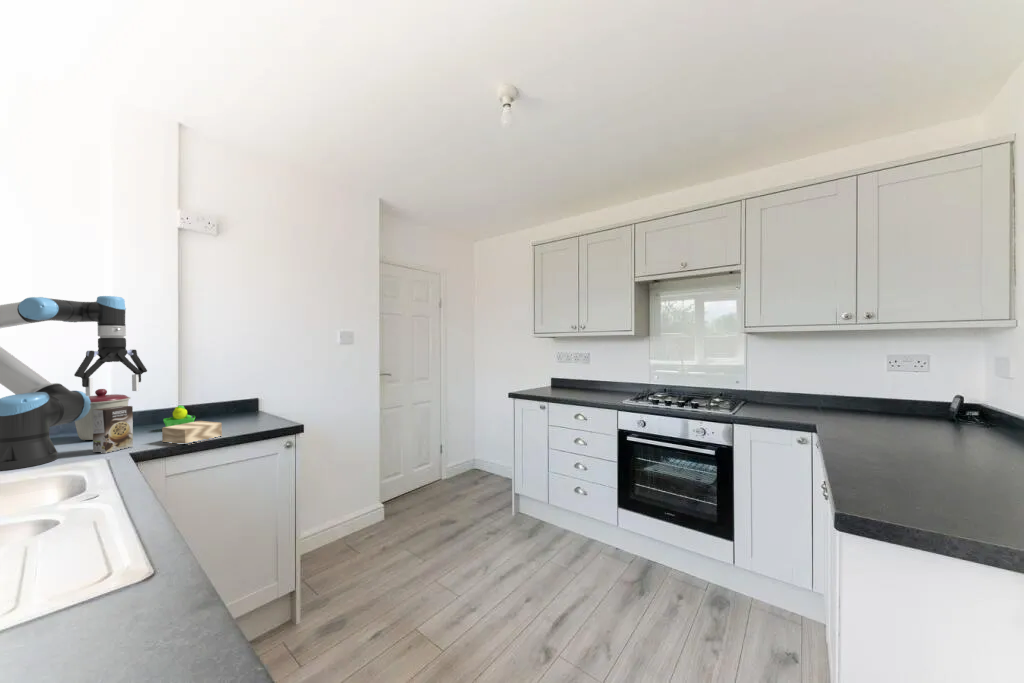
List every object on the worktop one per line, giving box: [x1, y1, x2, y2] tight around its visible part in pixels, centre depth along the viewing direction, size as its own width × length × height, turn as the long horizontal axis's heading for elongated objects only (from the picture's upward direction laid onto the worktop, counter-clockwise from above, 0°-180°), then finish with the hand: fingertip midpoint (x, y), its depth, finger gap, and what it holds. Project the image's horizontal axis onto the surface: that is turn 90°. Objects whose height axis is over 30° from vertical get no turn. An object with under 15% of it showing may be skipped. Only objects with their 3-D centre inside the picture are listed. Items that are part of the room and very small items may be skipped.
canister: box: [74, 388, 132, 441], centre depth 169 cm, size 18×18×21 cm
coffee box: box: [92, 405, 134, 454], centre depth 150 cm, size 9×6×16 cm
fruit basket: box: [163, 405, 196, 427], centre depth 186 cm, size 11×9×11 cm
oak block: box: [161, 420, 223, 444], centre depth 164 cm, size 14×14×6 cm
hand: (113, 393), depth 150 cm, fingers open, 13 cm apart
